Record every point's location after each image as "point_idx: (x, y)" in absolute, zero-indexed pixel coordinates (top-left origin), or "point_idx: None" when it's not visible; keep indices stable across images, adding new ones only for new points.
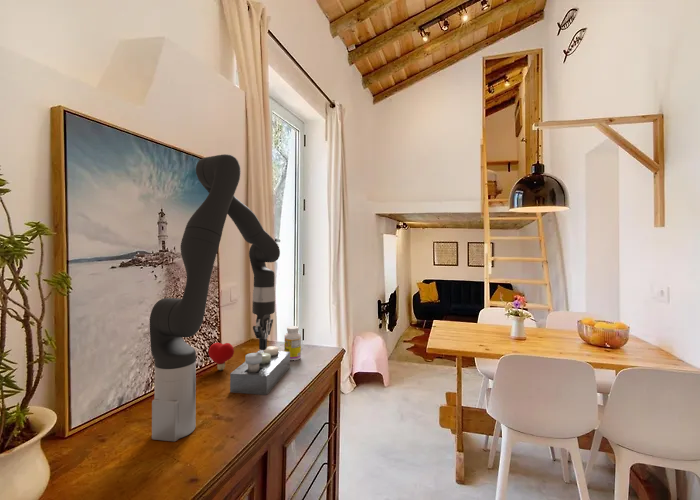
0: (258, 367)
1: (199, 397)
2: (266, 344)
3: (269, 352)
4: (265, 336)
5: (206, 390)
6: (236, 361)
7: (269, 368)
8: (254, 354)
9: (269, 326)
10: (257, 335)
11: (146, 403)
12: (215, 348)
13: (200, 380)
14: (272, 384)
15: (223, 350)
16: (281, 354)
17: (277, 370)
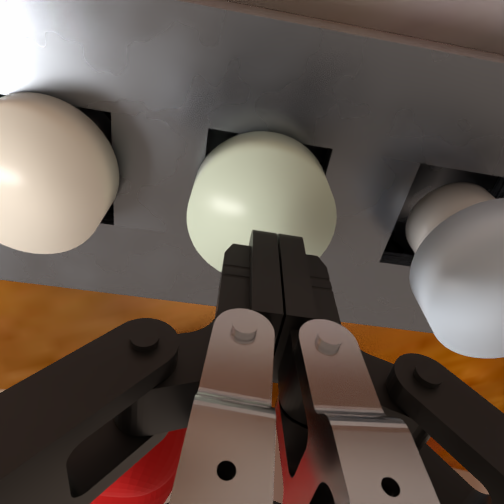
0: (493, 198)
1: (450, 356)
2: (266, 258)
3: (108, 183)
4: (341, 358)
5: (383, 354)
6: (13, 337)
7: (448, 102)
8: (489, 300)
9: (205, 500)
10: (428, 467)
11: (451, 457)
12: (162, 498)
13: (274, 396)
14: (440, 43)
15: (168, 461)
16: (22, 49)
17: (347, 29)
